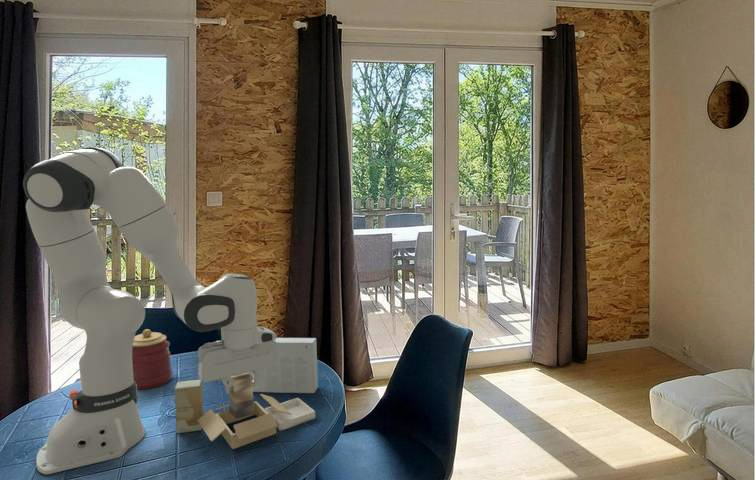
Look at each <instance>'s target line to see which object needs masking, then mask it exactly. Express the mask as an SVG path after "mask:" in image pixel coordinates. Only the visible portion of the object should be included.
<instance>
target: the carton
mask: <svg viewBox="0 0 755 480" xmlns="http://www.w3.org/2000/svg"><path fill="white" fill-rule="evenodd" d="M260 396H261V397H262V398H263V399H264V401H266V403H268V404H269V405H270V406H273V407H274V408H275V409H276V410H277V411H278V412H281V413H285V414H289V415H291V413H290V412H289V411H288V410H287V409H285V408H284V407H283V406H282V405H281V404H280V403H281V402H279V401H278V400H277V399H276V398H275V397H274V396H270V395H266V394H263V393H260ZM254 398H255V396H254V395H253V399H254ZM226 407H230V403H229V402H228V403H226V404H223V405H220V406H218V407H216V408H215V409H214V410H219V409H223V408H226ZM252 416H256V417H255V418H250V419H248V420H245V421H242V422H239V423H236V424H233V429H234V431H235V433H234V432H233V431H232V430H231V429H230V428H229V426H228V424H232V423H235V422H237V421H241V420H243V419H246V418H249V417H252ZM197 421H198V422H199V424H200V425H201V427H202V431H204V433H205V434H206V436H207V437H208V439H209V440H210V441H211V442H213V441H215V440H216V439H217V438H218V437H219V436H220V435H222V437H223V438H224V440H225V441H226V442H227V444H228V446H229V447H230V448H231V449H232V450H235V449H237V448H241V447H243V446H246V445H248V444H252V443H254V442H257V441H259V440H262V439H265V438H268V437H271V436H273V435H276V434H277V424H276V420H275V419H274V418H273V416H272V413H268V412H267V411H266V410H265V409H264V407H263V406H262V405H261V404H260V403H259V402H258V401H253V414H251V415H248V416H245V417H242V418H238V419H235V418H234V416H233V415H232V414H231V413H230V408H229V409H226V410H223V411H220V412H217V413H214V411H213V410H212V409H211V408H210V409H209V410H208V411H206V412H205V413H203V416H202V417H201V418H200V419H198V420H197Z"/></svg>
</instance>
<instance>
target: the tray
mask: <svg viewBox="0 0 755 480" xmlns="http://www.w3.org/2000/svg"><path fill="white" fill-rule="evenodd" d="M279 403H280V404H281V405H282V406H283V407H284V408H285V409H287V410H288V411H289V412H290V413H291V415H289V414H285V413H281V412H278V411H277V410H276V409H275V408H274V407H273V406H271V405H270V406H267V407H265V408H264V407H263V408H264V409H265V410H266V411H267V412H268V413H272V416H273V418H274V419H275V420H276V424H277V427H276V429H278V431H280V432H282V431H285V430H287V429H290V428H292V427H295V426H299V425H301V424H303V423H306V422H309V421H311V420H315V419H316V411H315V410H314V409H313V408H312V407H310V405H308V404H307V403H306V402H304V401H303V400H302V399H300V398H299V397H295V398H293V399H292V398H291V399H289V400H286V401H284V402H279Z"/></svg>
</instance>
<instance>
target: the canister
mask: <svg viewBox="0 0 755 480" xmlns="http://www.w3.org/2000/svg"><path fill="white" fill-rule="evenodd" d="M170 345H171V343H170V341H169V340H167V335H165V334H163V333H161V332H159V331H158V332H156V331H151V329H148V328H146V329H143V331H142V332H141V333H140V334H137V335H135V337H134V341H133V347H132V364H133V377H134V379H135V382H136V384H137V390H147V389H148V390H149V389H153V388H157V387H160V386H162V385H165V384H167V383H168V382H170V380H171V379H172V375H173V369H172V362H171V361H172V360H171V351H169V350H170V349H169V347H170Z"/></svg>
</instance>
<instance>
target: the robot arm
mask: <svg viewBox="0 0 755 480" xmlns="http://www.w3.org/2000/svg"><path fill="white" fill-rule="evenodd" d="M22 187H23V190H24V193H25V195H26V197H27V198H28V199H27V200H26V203H25V211H26V215H27V220H28V223H29V226H30V228H31V231H32V234H33V237H34V239H35V241H36V243H37V246H38V248H39V250H40V251H41V253H42V255H43V257H44V259H45V261H46V264H47V265H48V266H47V267H48V268H49V269H50V272H51V274H52V276H53V279H54V283H55V285H56V286H55V287H56V290H57V295H58V299H59V304H58V309H59V312H60V315H61V316H62V318H63V319H64V320H65V321H66V322H67V323H69V325H71V326H73V327H74V328H76V329H80V330H83V331H85V334H86V342H85V348H84V352H83V354H82V355H81V357H80V358H79V360H78V365H79V366H78V367H79V378H80V385H81V386H80V387H81V390H80V391H79V390H78V389H73V390H71V391H70V392H69V399H70V400H71V404H72V409H71V410H69V411H68V412H67V413H66V414H65V415H64V416H63V417H62V418H60V419H59V420H58V421H57V422H56V423H54V425H53V426H52V427H51V429H50V431H49V432H48V433H49V434H48V437H47V440H46V443H45V444H44V445H43V446H42V447H41V448H40V449H39V451H38V452H37V454H36V458H35V466H36V469H37V471H38V472H39V473H41V474H43V475H51V474H55V473H59V472H63V471H67V470H68V471H69V470H72V469H75V468H81V467H84V466H89V465H92V464H97V463H101V462H106V461H109V460H115V459H118V458H121V457H122V456H124V455H125V454H126V452H127V451H128V450H129V449H131V448H132V447H134V446H135V445H136V444H138V443H139V442H141V441H142V439H143V438H144V437H145V435H146V428H145V427H144V424H143V422H142V419H141V416H140V412H139V409H138V408H139V407H138V398H139V396H138V395H139V394H138V389H137V384H136V382H135V379H134V377H133V364H132V347H133V341H134V337H135V336H136V333H137V331H138V330H139V329H141V328H140V327H142V325H143V322H144V321H145V318H146V309H145V306H144V303H143V302H142V301H141V300H140V299H139V298H137V296H135V295H133V294H131V293H129V292H128V291H126V290H121V289H116V288H112V287H111V285H110V284H109V282H108V278H107V273H106V264H107V261H108V258H107V254H106V253H105V250H104V248H103V245H102V243H101V240H100V239H99V236H98V235H97V232H96V230H95V228H94V225H93V223H92V221H91V219H90V217H89V214H88V209H90V208H91V207H92V205H95V206H98V207H101V208H103V209H104V210H105V211H106V212H107V213H108V214H109V217H110V218H111V219H112V221H113V222H114V223H115V225H116V227H117V228H118V230H119V232H120V233H121V234H122V236H123V237H124V239H126V240H127V242H128V244H129V245H130V246H131V247H133V248H134V249H135V250H136V251H137V252H138V253H139V254H140V255H141V256H143V257H144V258H146V259H147V260H149V262H151V264H152V265H153V266H154V267H155V268H156V270H157V272H158V274H159V275H160V277H161V278H162V280H163V281H164V283H165V284H166V286H167V288H168V290H169V292H170V295H171V302H172V309H173V310H172V311H173V313H174V314H175V315H176V317H177V318H178V319H179V320H181V321H182V322H183V323H184V324H185V325H186V326H187V327H189V329H190V330H193V331H195V332H197V333H206V332H211V331H215V330H218V329H220V330H221V332H220V333H221V335H220V336H221V340H216V341H213V342H206V343H203V344H202V346H200V347H199V348H198V349H197V360H198V369H197V371H198V372H197V376H198V378H199V380H202V383H211V382H214V381H218V380H220V381H221V382H222V384H223V385H224V388H225V393H226V394H228V395H229V393H233V392H234V390H233V389H234V387H233V385H232V384H229V377H231V376H235V375H239V374H244V373H248V372H253V375H252V377H253V387H256V380H257V378H258V377H259V375H260V369H264V368H269V367H273V366H277V364H278V363H279V361H280V355H279V347H278V344H277V342H276V341H274V340H276V338H277V334H276V333H275V332H274V330H272V329H269V328H268V327H262V326H258V321H257V310H258V297H257V288H256V283H255V280H253V278H252V277H250V276H247V275H246V274H241V273H225V274H223V275H222V276H221V277H220V278H219V279H218V280H217V281H215V282H214V283H212V284H210V285H208V286H205V285H204V284H202V283H201V282H199V281H198V280H197V279H196V278H195V277H194V276H193V274H192V273H191V271H190V269H189V267H188V265H187V264H186V262H185V261H184V259H183V256H181V252H180V251H179V248H178V247H179V246H178V240H179V235H180V231H179V227H178V225H177V222H176V219H175V216H174V215H173V213H172V211H171V209H170V207H169V206H168V204H167V202H166V200H165V199H164V198H163V196H162V195H161V193H160V191H159V190H158V189H157V188H156V186H155V185H154V183H152V182H151V180H150V179H149V178H148V177H147V176H146V175H145V174H144V172H143V171H141V170H140V169H139V168H137V167H133V166H123V164H122V162H121V159H120V158H119V157H118V156H117V155H116V154H115V153H113V152H112V151H110V150H108V149H105V148H102V147H96V146H95V147H90V146H89V147H84V148H82V149H75V150H70V151H69V150H68V151H67V152H63V153H61V154H59V155H56V156H54V157H52V158H49V159H44V160H42V161H39V162H38V163H36V164H34V165H33V166H31V167H30V168H29V169H28V170H27V171H26V172H25V175H24V176H23V179H22Z"/></svg>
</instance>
